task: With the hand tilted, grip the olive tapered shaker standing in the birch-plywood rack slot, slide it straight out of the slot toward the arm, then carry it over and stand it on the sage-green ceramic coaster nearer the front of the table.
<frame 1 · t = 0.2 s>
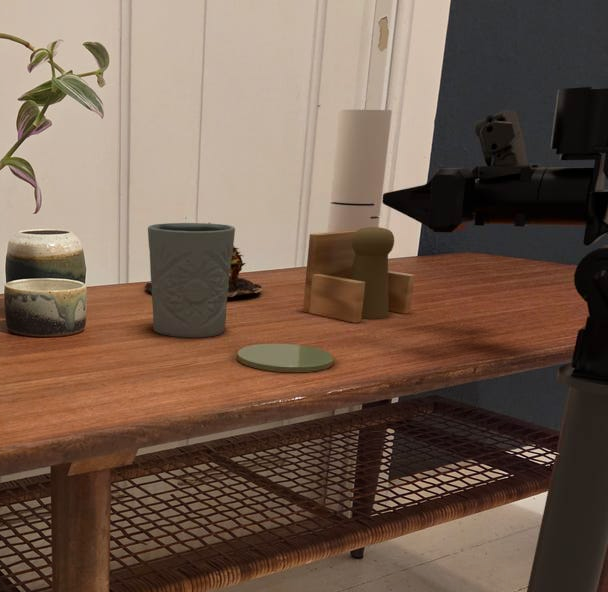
hand: (398, 196, 101), 16 cm above the table, tool horizontal, fingers open, 9 cm apart
olive tapered shaker: (364, 315, 116), on the table
cactus: (202, 293, 130), on the table
rack: (364, 313, 116), on the table
cylindrical container: (346, 291, 132), on the table
coaster: (284, 360, 93), on the table
grey embossed cup: (187, 330, 106), on the table
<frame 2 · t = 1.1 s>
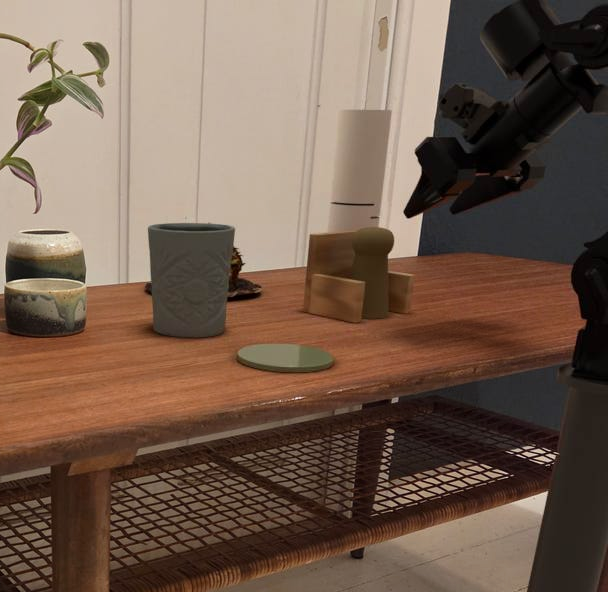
hand: (429, 213, 105), 13 cm above the table, tool tilted 45°, fingers open, 9 cm apart
nothing on the table moved.
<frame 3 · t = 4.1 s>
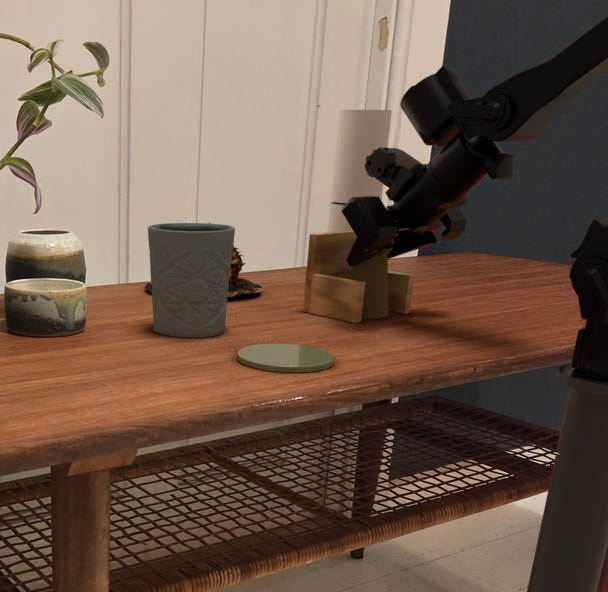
hand: (361, 261, 115), 7 cm above the table, tool tilted 45°, fingers closed on olive tapered shaker, 5 cm apart
olive tapered shaker: (364, 315, 116), on the table, touching gripper
everything else where it was.
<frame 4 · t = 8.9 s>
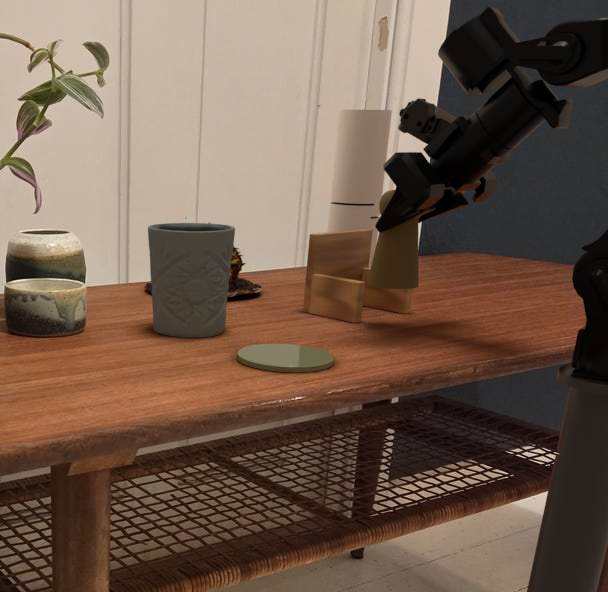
hand: (388, 227, 105), 12 cm above the table, tool tilted 45°, fingers closed on olive tapered shaker, 5 cm apart
olive tapered shaker: (392, 286, 107), point 5 cm above the table, touching gripper
everything else where it was.
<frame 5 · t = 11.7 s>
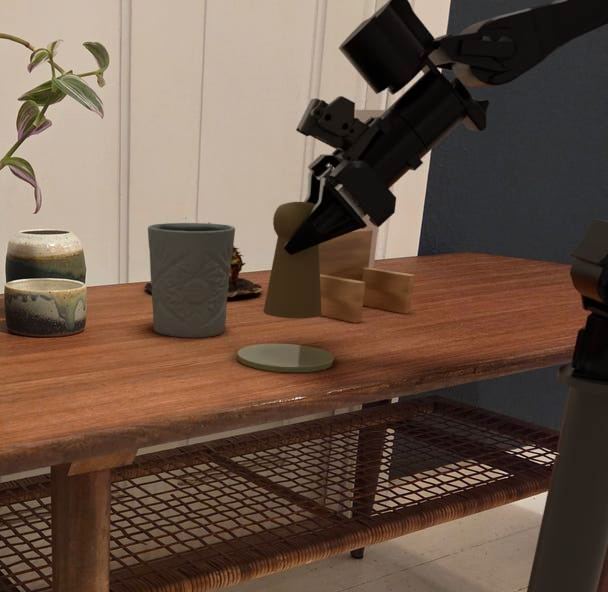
hand: (283, 247, 89), 11 cm above the table, tool tilted 45°, fingers closed on olive tapered shaker, 5 cm apart
olive tapered shaker: (292, 314, 92), point 5 cm above the table, touching gripper
everything else where it was.
when the fingers open (7 cm above the table, at t = 13.9 s): olive tapered shaker stays where it is, resting on coaster.
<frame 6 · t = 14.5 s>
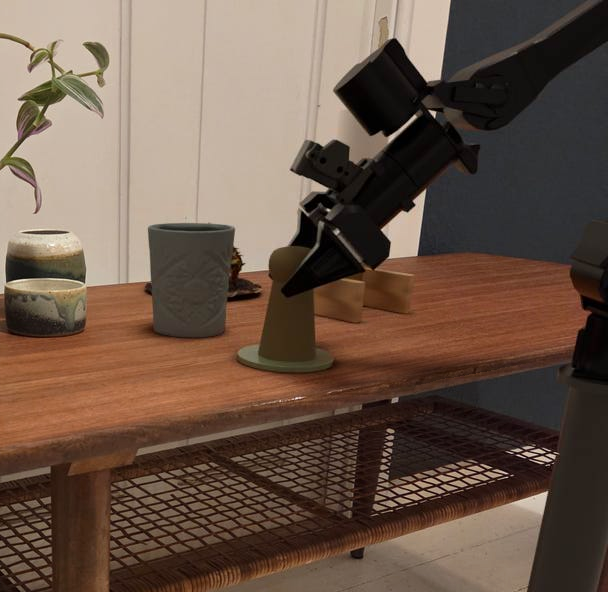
hand: (276, 286, 90), 8 cm above the table, tool tilted 45°, fingers open, 9 cm apart
olive tapered shaker: (286, 356, 93), resting on coaster
everything else where it was.
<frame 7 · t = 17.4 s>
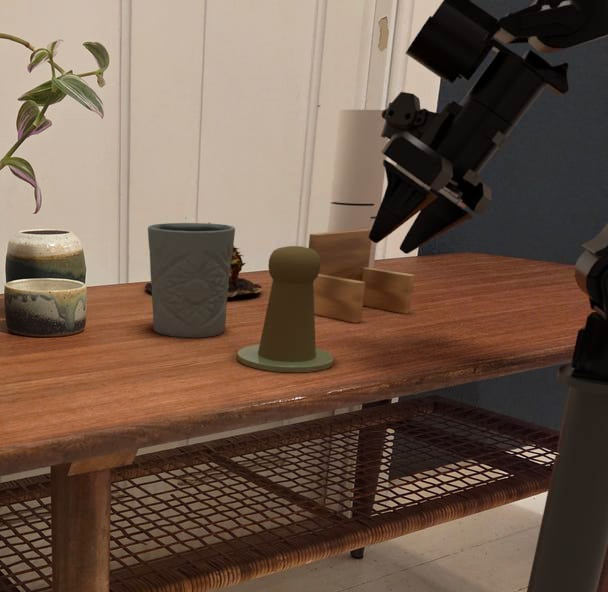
hand: (388, 246, 94), 11 cm above the table, tool tilted 30°, fingers open, 9 cm apart
nothing on the table moved.
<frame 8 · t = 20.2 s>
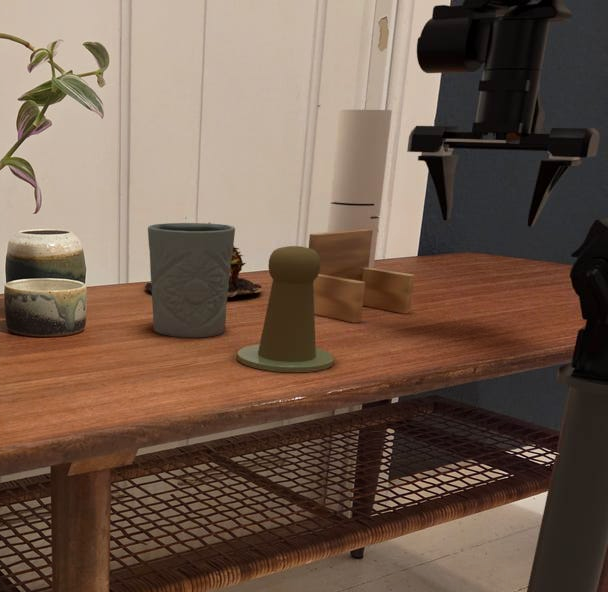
hand: (487, 223, 99), 13 cm above the table, tool pointing down, fingers open, 9 cm apart
nothing on the table moved.
at the end: olive tapered shaker moved 29.1 cm from its start; olive tapered shaker 0.1 cm off-centre on the coaster, point 0.4 cm above the coaster's base; olive tapered shaker tilted 0° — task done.
